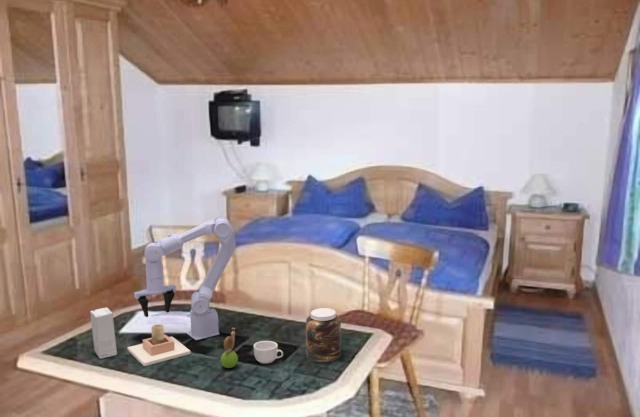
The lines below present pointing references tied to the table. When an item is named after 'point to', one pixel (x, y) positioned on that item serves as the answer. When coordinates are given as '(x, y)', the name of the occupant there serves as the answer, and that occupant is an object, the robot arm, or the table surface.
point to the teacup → (266, 351)
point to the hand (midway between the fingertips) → (156, 313)
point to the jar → (323, 335)
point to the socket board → (158, 351)
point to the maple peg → (157, 334)
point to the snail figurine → (229, 352)
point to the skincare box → (103, 332)
